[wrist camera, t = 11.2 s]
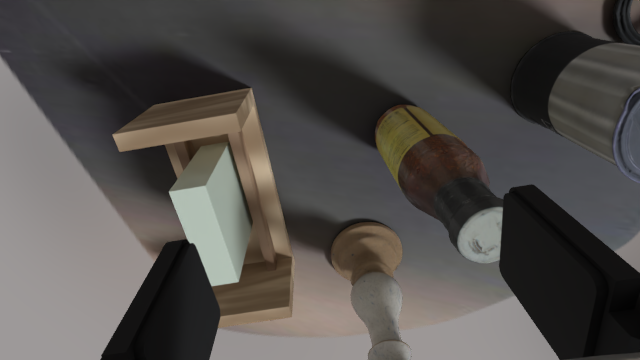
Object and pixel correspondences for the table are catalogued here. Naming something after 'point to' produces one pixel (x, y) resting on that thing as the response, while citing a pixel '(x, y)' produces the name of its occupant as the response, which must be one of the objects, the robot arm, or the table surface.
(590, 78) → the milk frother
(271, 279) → the track
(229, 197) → the rectangular block
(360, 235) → the candle holder
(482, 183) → the sauce bottle
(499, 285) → the table surface
